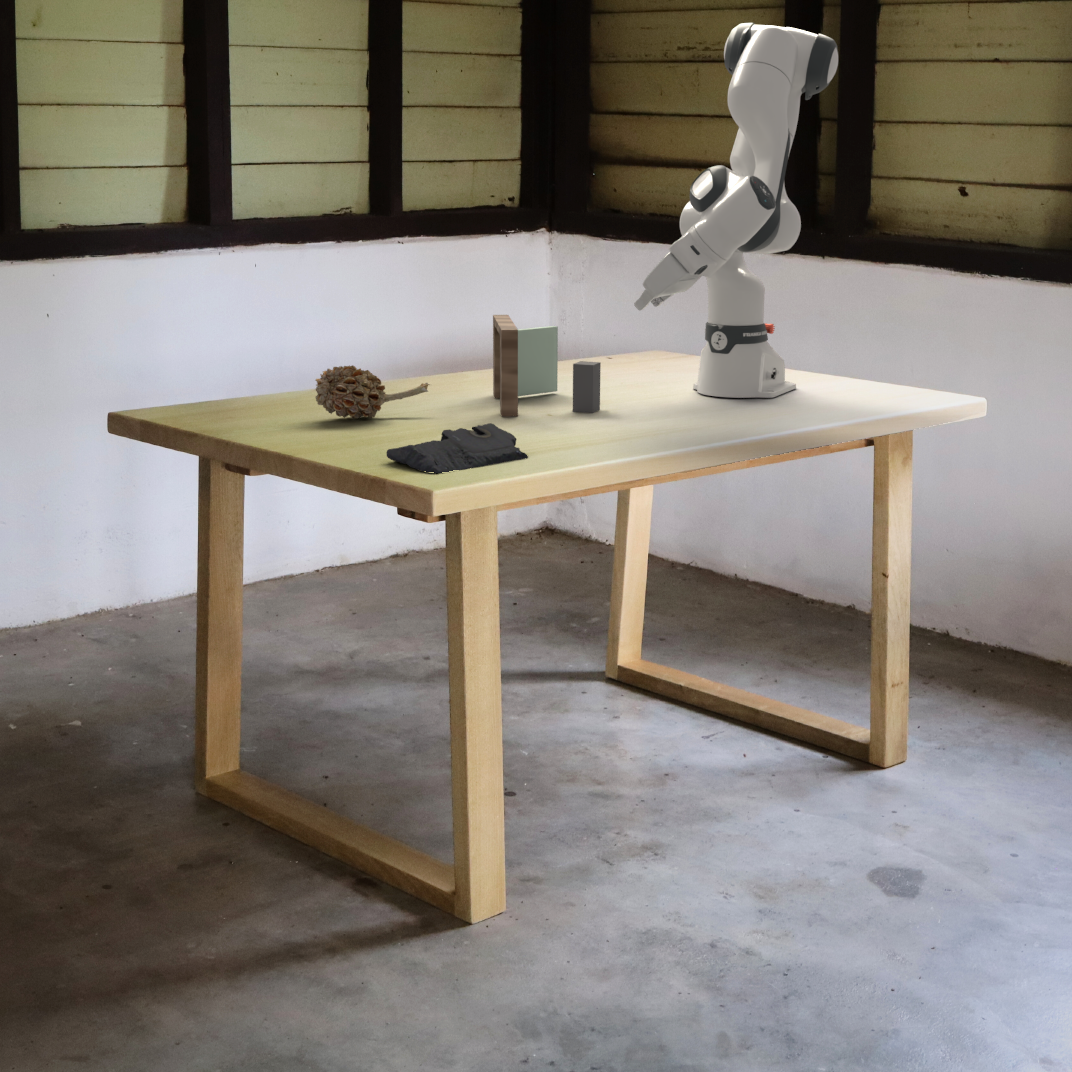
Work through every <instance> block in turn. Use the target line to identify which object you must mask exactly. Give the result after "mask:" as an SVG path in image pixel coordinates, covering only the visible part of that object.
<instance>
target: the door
mask: <svg viewBox="0 0 1072 1072" xmlns="http://www.w3.org/2000/svg"><path fill="white" fill-rule="evenodd" d="M558 328H559V326H555V325H551V326H541V327H539V326H538V327H531V328H520V329H518V328H517V329H518V397H522V396H523V397H525V396H532V395H541V394H546V393H554V392H558V374H559V373H558V358H559V354H558V353H559V351H558V347H559V344H558V343H559V339H558V338H559V337H558V336H559V333H558V332H559V329H558Z"/></svg>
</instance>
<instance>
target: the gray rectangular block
mask: <svg viewBox="0 0 1072 1072" xmlns="http://www.w3.org/2000/svg"><path fill="white" fill-rule="evenodd" d="M599 410H601V362H600V361H587V360H586V361H584V360H583V361H581V360H580V361H577V362H575V363H574V362H573V363H572V412H574V413H575V412H576V413H589V414H593V413H596V412H597V411H599Z"/></svg>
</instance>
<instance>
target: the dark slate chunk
mask: <svg viewBox="0 0 1072 1072" xmlns="http://www.w3.org/2000/svg"><path fill="white" fill-rule="evenodd" d="M516 444H517V438H516V437H515V436H514V434H512V433H511V432H508V431H506V430H504V429H502V428H500V427H498V426H496V425H495V424H494V423H492V422H491V423H484V424H480V425H479V424H478V425H477V426H476V425H475V426H472V427H471V429H467V428H463V427H461V428H460V427H459V428H457V429H456V430H452V429H444V430H442V433H441V437H440V440H434V439H433V440H431V441H425V442H421V443H416V444H408V445H404V446H400V447H399V446H398V447H395V448H394V447H393V448H388V449H387V450H386V457H387V459H389V460H391V461H393V462H397V463H399V462H400V463H399V464H403V465H404V464H405V465H406V464H407V465H408V466H409V467H410V468H412V469H415V470H417V471H419V470H421V471H420V472H422V471H426V472H434V473H442V472H449V471H453V470H459V471H464V470H470V468H471V469H477V468H481V467H482V468H483V467H487V466H492V465H497V464H503V463H507V462H508V463H509V462H514V461H520V460H526V459H528V458H529V455H528V454H527V453H526V452H523V451H522V450H520V447H516ZM527 455H528V456H527ZM525 458H526V459H525ZM407 465H406V466H407ZM453 472H454V471H453ZM449 473H450V472H449ZM442 474H443V473H442Z"/></svg>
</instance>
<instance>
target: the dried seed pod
mask: <svg viewBox="0 0 1072 1072" xmlns="http://www.w3.org/2000/svg"><path fill="white" fill-rule="evenodd" d="M332 367H333V368H332V369H331V368H327V369H326V370H324V371H322V373H320V378H315V380H314V381H316V384H315V387H316V388H315V392H316V395H315V401H316V402H317V405H318V406H322V408H324V409H325V411H326V412H328V414H330V415H332V414H333V413H335V416H337V417H340V418H341V417H343V418H347V417H348V416H349V417H350V418H351V419H352V420H355V419H358V418H359V419H361V418H363V417H364V418H369V419H372V418H375V417H376V415H377V413H378V412H380V411H381V409H382V405H384V403H388V402H392V401H395V400H396V401H397V400H403V399H405V398H410V397H413V396H416V395H417V396H418V395H420V394H423V393H427V392H429V391H428V387H429V386H431V384H429V383H428V382H425V383H423V382H422V383H421V384H420V385H418V386H417V387H414V388H411V389H408V390H404V391H401V392H396V393H394V392H393V393H388V394H386V393H387V392H385V391H384V390H386V385H383V384H382V380H381V379H380V378H379V377H378V376H377V375H375V374H373V373H372V372H371V371H370V370H368V369H367V370H364V369H363V370H362V368H357V367H356V366H355V365H344V366H342V365H340V366H332Z"/></svg>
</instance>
